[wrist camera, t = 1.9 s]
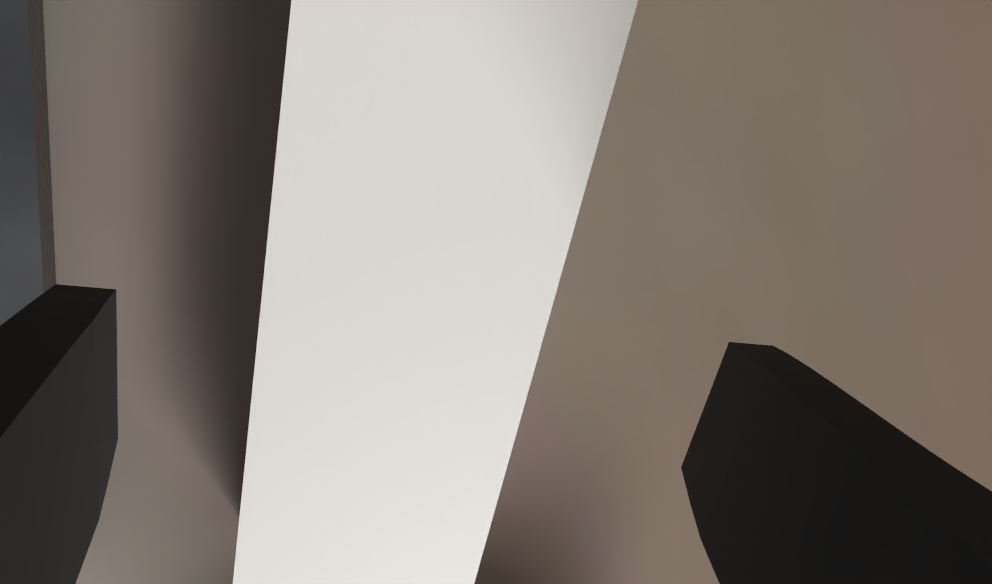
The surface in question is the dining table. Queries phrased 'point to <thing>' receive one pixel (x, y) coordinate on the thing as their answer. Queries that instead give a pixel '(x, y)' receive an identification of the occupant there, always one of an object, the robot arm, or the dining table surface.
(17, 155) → the cup brackets
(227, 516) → the dining table surface
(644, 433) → the dining table surface
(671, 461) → the dining table surface
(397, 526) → the rail
